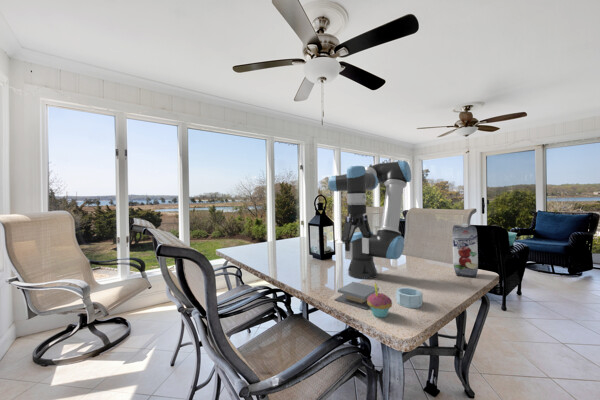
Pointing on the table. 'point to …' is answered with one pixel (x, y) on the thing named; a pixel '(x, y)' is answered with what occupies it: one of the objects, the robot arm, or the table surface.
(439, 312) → the table surface
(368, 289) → the sheet
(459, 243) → the juice carton
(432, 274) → the table surface
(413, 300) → the bowl
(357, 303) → the dark tray with block
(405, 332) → the table surface
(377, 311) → the cupcake
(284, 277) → the table surface
